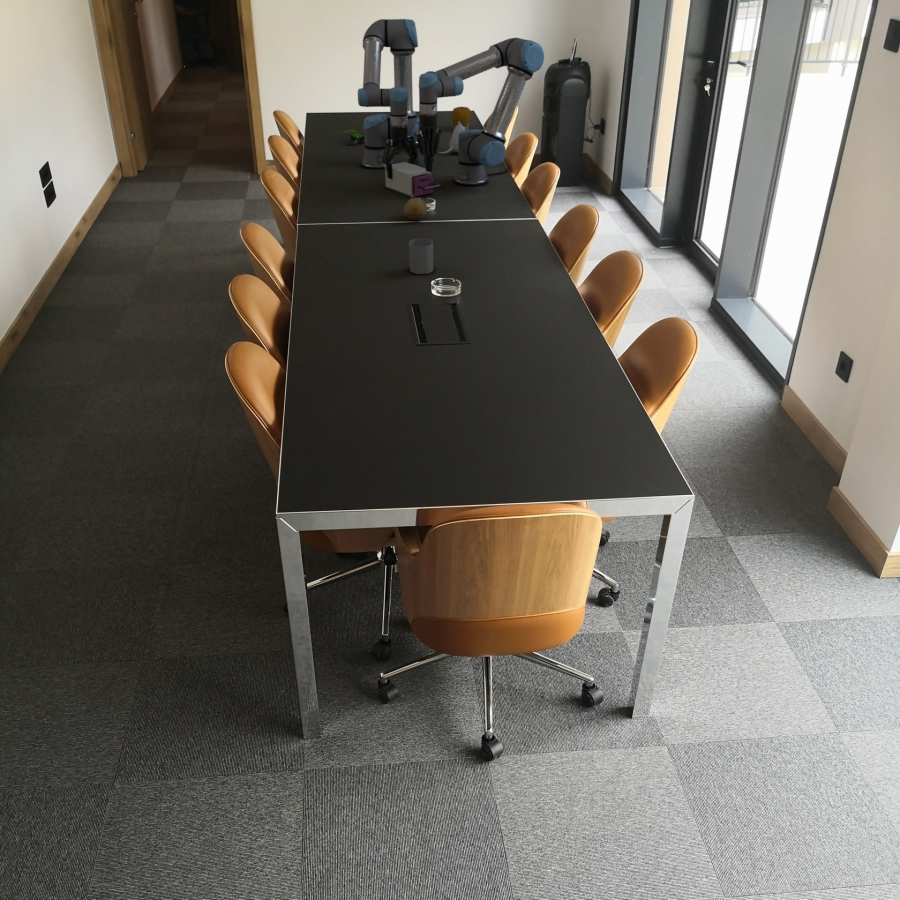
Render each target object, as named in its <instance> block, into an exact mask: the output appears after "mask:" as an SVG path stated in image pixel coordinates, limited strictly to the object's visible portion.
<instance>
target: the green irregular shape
mask: <svg viewBox="0 0 900 900" xmlns="http://www.w3.org/2000/svg"><path fill="white" fill-rule="evenodd" d="M349 132H352V133H351V134H349V136H350V138H349V140H350V141H353V142H348V141H345V140H342V139H340V142H342V143H344V144H345V145H349V146H356V145H358V144H360V143H362V142H365V140H364V133H362V132H359V131H358V130H357V129H346V130H345V131H342V132H340V134H345V133H349Z"/></svg>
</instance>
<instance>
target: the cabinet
mask: <svg viewBox="0 0 900 900" xmlns="http://www.w3.org/2000/svg"><path fill="white" fill-rule="evenodd" d="M384 174H385V175H384V176H385V189H387V190H390V191H391V192H395V193H398V194H400V195H403V196H405V197H408V198H410V199H412V198H417V196H414V194H413V187H412V177H413V176H418V175H422V174H432V172H428V171H426V167H422V166H419V165H416V164H415V165H413V164H410V163H409V162H407V161H402V162H397V163H393V164H392V179H390V178H388V177H387V171H386V166H385V168H384Z"/></svg>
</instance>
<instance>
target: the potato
mask: <svg viewBox="0 0 900 900" xmlns="http://www.w3.org/2000/svg"><path fill="white" fill-rule="evenodd" d="M427 213H428V205H427V203H426V202H425V201H424V200H423V199H421V198H420V197H411V198H410V199H408V201H407V202H406V203H405V204H404V207H403V214H404V216H406V217H407V219H409V220H412V221H420V220H422V219H423V218H425V217H426V214H427Z"/></svg>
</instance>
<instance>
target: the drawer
mask: <svg viewBox="0 0 900 900" xmlns="http://www.w3.org/2000/svg"><path fill="white" fill-rule="evenodd" d="M434 182H435V181H434V174H433V173H431V174H422V175H418V176H413V177H412V187H413V194H414V196H416V197H419V196H424V195H428V194H433V193H434V192H435V191H434V189H438V188H441V184H439V183H434Z"/></svg>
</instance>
